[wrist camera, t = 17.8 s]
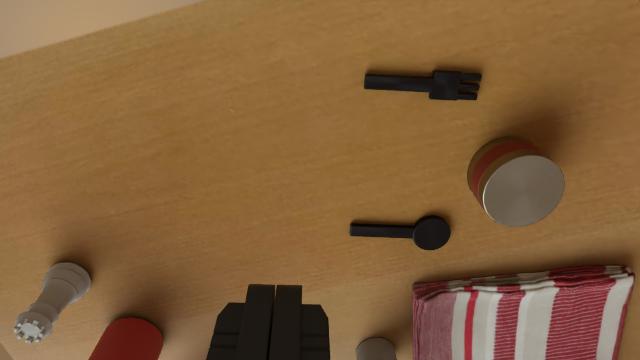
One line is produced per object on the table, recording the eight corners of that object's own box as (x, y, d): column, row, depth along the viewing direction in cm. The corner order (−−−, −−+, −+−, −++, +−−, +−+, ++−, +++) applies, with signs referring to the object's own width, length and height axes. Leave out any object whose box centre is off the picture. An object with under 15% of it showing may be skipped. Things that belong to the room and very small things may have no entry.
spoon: (348, 243, 46) (349, 247, 45) (351, 211, 44) (352, 215, 44) (445, 247, 46) (447, 251, 46) (451, 215, 45) (454, 219, 44)
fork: (362, 94, 39) (363, 96, 38) (365, 66, 38) (366, 68, 37) (474, 99, 39) (476, 101, 39) (480, 72, 38) (482, 73, 38)
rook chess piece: (79, 255, 46) (36, 309, 39) (100, 287, 48) (63, 344, 41) (41, 265, 47) (-9, 320, 39) (64, 297, 48) (20, 355, 41)
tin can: (453, 161, 42) (468, 182, 38) (524, 121, 40) (548, 139, 36) (485, 215, 45) (502, 240, 41) (552, 180, 43) (577, 202, 39)
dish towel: (408, 282, 48) (412, 299, 46) (629, 258, 47) (646, 274, 45) (413, 389, 56) (418, 408, 53) (605, 370, 54) (618, 389, 52)
